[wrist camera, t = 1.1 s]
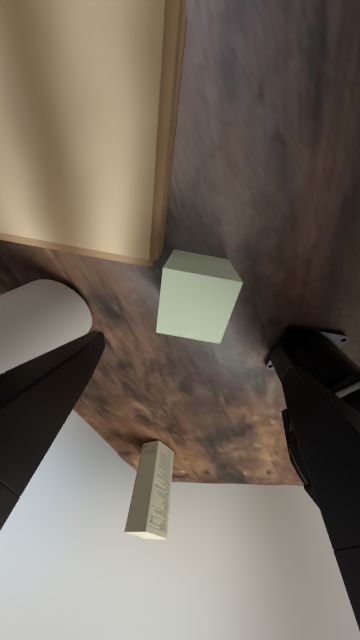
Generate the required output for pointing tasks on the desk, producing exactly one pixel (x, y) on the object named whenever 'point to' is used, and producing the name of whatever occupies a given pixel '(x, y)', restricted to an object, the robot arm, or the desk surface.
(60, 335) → the can
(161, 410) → the desk surface
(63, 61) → the base slab
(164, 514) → the skincare box
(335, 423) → the robot arm
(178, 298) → the green block
